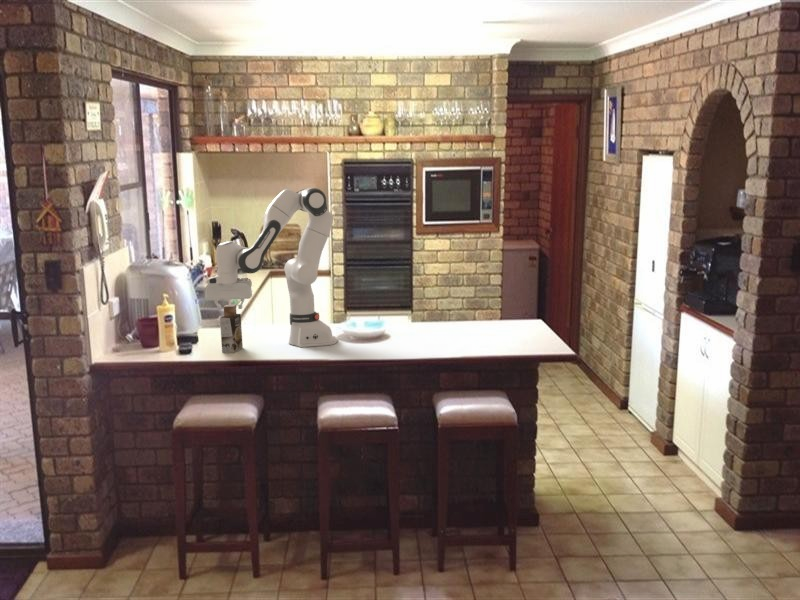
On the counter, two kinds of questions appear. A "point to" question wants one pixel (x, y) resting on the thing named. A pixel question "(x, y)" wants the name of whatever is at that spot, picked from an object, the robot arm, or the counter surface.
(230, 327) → the coffee box
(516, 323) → the counter surface
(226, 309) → the walnut block
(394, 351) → the counter surface
